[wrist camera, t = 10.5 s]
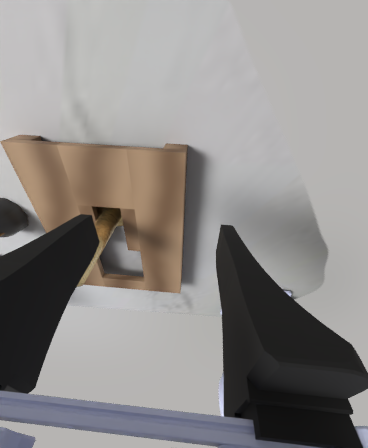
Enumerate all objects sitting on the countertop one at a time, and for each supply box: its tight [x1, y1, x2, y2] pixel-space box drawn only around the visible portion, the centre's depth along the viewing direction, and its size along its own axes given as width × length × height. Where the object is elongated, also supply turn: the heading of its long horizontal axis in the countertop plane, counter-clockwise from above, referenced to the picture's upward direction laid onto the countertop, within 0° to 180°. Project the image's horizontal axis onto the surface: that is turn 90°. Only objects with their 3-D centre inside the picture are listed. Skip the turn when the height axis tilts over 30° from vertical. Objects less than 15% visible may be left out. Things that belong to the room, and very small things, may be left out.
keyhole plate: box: [0, 135, 188, 293], centre depth 24 cm, size 16×20×2 cm
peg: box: [77, 207, 123, 287], centre depth 19 cm, size 4×4×10 cm
